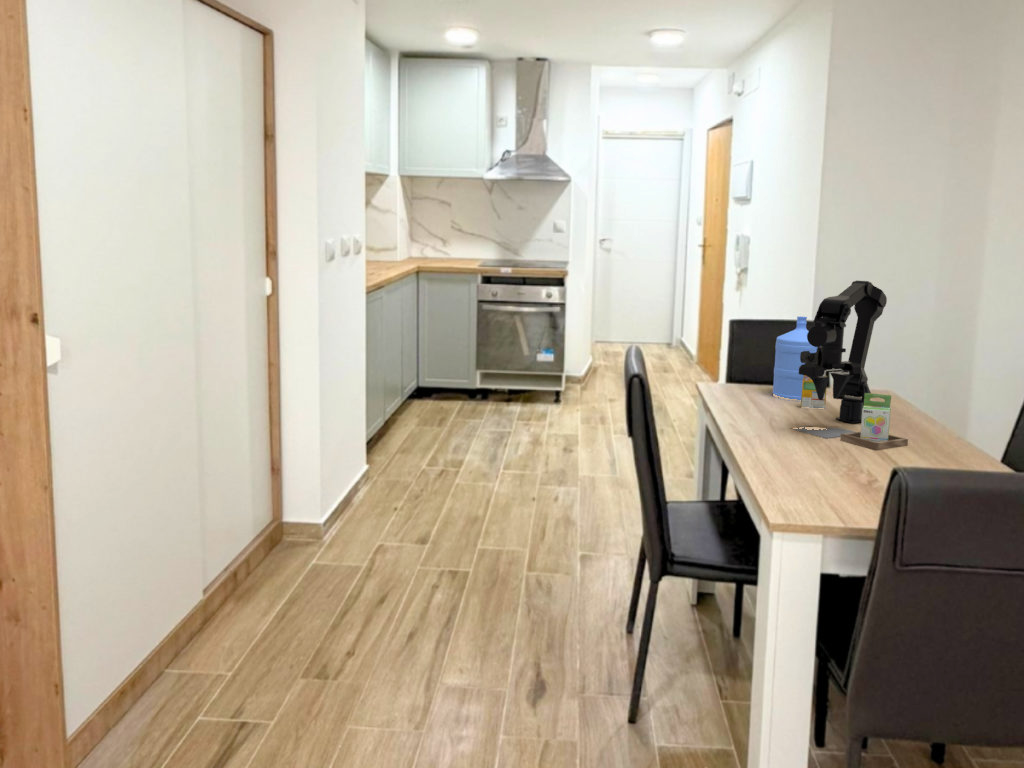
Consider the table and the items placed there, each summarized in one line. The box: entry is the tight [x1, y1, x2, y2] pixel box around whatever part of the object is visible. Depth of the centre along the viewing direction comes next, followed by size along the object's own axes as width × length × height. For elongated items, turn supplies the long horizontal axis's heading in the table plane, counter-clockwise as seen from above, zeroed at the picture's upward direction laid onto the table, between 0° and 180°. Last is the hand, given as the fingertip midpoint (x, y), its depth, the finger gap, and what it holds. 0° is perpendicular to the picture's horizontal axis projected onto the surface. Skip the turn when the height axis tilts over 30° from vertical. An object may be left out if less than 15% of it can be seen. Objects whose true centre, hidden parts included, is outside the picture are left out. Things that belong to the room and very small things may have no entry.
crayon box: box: [800, 375, 828, 410], centre depth 300 cm, size 7×3×12 cm, turn 76°
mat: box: [794, 427, 856, 440], centre depth 269 cm, size 14×14×1 cm
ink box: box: [860, 393, 892, 442], centre depth 255 cm, size 7×4×13 cm, turn 66°
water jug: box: [771, 316, 818, 400], centre depth 317 cm, size 16×16×28 cm
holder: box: [839, 431, 909, 451], centre depth 256 cm, size 12×12×2 cm
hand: (827, 399), depth 268 cm, fingers open, 5 cm apart
